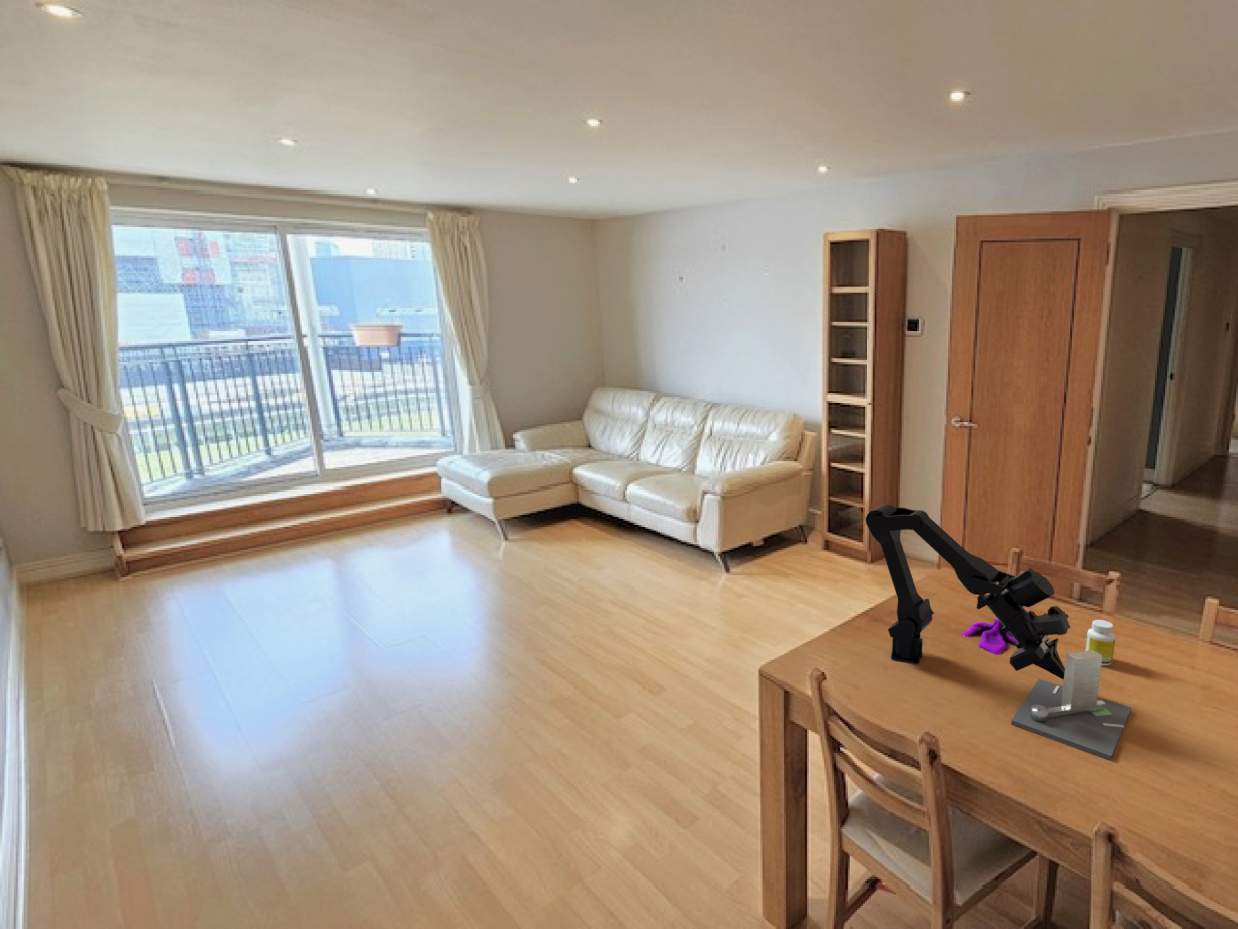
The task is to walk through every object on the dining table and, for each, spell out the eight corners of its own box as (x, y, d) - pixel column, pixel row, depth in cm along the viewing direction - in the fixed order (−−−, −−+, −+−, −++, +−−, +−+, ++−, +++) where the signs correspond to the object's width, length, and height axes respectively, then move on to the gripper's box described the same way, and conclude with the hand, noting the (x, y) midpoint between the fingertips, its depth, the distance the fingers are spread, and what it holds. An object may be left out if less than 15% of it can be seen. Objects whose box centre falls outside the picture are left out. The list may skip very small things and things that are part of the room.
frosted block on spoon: (1037, 723, 134) (1043, 665, 131) (1027, 714, 137) (1032, 657, 134) (1108, 711, 136) (1116, 654, 133) (1096, 703, 139) (1103, 647, 136)
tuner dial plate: (1112, 761, 124) (1112, 755, 124) (1011, 724, 137) (1011, 719, 136) (1131, 711, 138) (1132, 706, 137) (1038, 682, 150) (1038, 677, 150)
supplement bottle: (1116, 667, 154) (1121, 629, 151) (1090, 666, 155) (1095, 628, 152) (1105, 655, 159) (1109, 618, 156) (1080, 654, 160) (1084, 617, 157)
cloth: (1020, 620, 179) (1021, 599, 177) (1061, 655, 161) (1063, 633, 159) (936, 623, 180) (938, 603, 179) (968, 659, 162) (970, 636, 161)
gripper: (1032, 615, 132) (1091, 683, 127) (1056, 584, 145) (1111, 645, 140) (986, 638, 140) (1040, 703, 135) (1013, 606, 152) (1064, 665, 147)
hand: (1066, 678), depth 139 cm, fingers closed
